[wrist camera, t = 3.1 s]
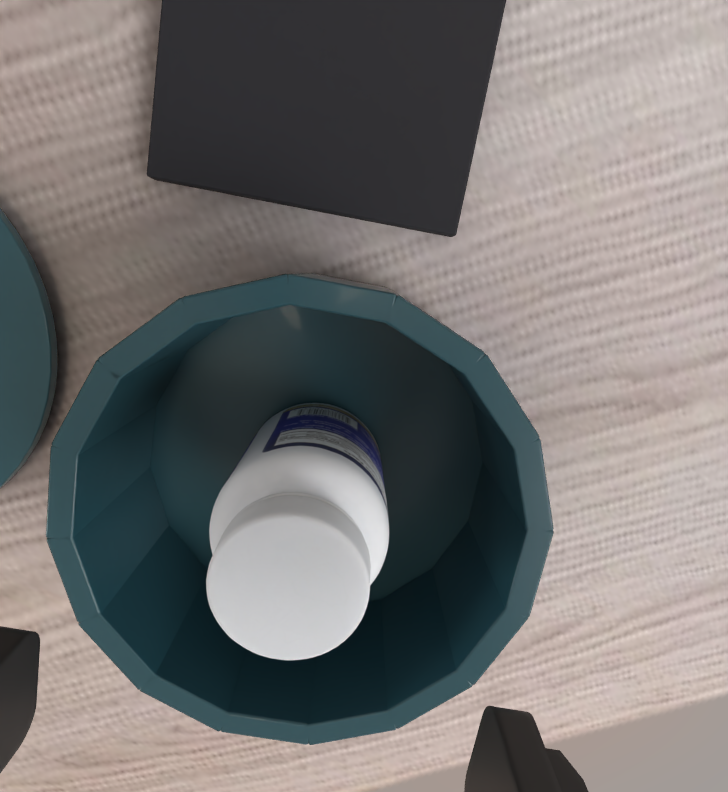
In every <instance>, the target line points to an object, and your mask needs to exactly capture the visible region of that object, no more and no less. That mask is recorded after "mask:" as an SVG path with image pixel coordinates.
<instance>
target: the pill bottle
mask: <svg viewBox="0 0 728 792" xmlns="http://www.w3.org/2000/svg"><path fill="white" fill-rule="evenodd" d="M209 536H210V546H211V550H212V555H213V556H212V558H211V561H210V563H209V567H208V571H207V578H206V591H207V598H208V602H209V606H210V609H211V611H212V613H213V615H214V617H215V619H216V621H217V622H218V624H219V625H220V626H221V628H222V629H223V630H224V632H225V633H226V634H227V635H228V636H229V637H230V638H231V639H232V640H234V641H235V642H236V643H238V644H239V645H241V646H242V647H244V648H246V649H247V650H249V651H251V652H253V653H256V654H258V655H261V656H264V657H268V658H272V659H279V660H301V659H308V658H312V657H316V656H319V655H322V654H324V653H326V652H329V651H330V650H332V649H334V648H336V647H337V646H339V645H340V644H341V643H343V642H344V641H345V640H346V639H347V638H348V637H349V636H350V635H351V634H352V633H353V632H354V631H355V629H356V628H357V626H358V625H359V623H360V622H361V620H362V618H363V616H364V614H365V611H366V608H367V605H368V601H369V594H370V585H371V584H372V583H373V581H374V580H375V578H376V577H377V575H378V574H379V572H380V570H381V568H382V565H383V563H384V560H385V557H386V553H387V550H388V543H389V517H388V508H387V500H386V494H385V486H384V479H383V470H382V462H381V456H380V452H379V448H378V445H377V443H376V441H375V439H374V437H373V435H372V434H371V432H370V431H369V429H368V428H367V427H366V426H365V425H364V423H363V422H362V421H360V420H359V419H358V418H357V417H356V416H354V415H353V414H351V413H350V412H348V411H346V410H344V409H342V408H339V407H337V406H333V405H330V404H324V403H304V404H299V405H295V406H292V407H289V408H287V409H285V410H283V411H281V412H279V413H277V414H276V415H274V416H273V417H271V418H270V419H269V420H268V421H267V422H266V423H265V424H264V425H263V426H262V427H261V428H260V430H259V431H258V432H257V434H256V435H255V436H254V438H253V440H252V441H251V442H250V444H249V446H248V448H247V449H246V451H245V453H244V454H243V456H242V457H241V459H240V460H239V462H238V464H237V465H236V467H235V468H234V470H233V471H232V473H231V474H230V476H229V477H228V479H227V481H226V482H225V484H224V485H223V487H222V489H221V491H220V493H219V495H218V497H217V499H216V502H215V504H214V507H213V510H212V514H211V519H210V528H209Z"/></svg>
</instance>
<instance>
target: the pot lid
mask: <svg viewBox="0 0 728 792" xmlns="http://www.w3.org/2000/svg"><path fill="white" fill-rule="evenodd" d="M56 379H57V340H56V333H55V326H54V319H53V314H52V311H51V307H50V303H49V300H48V296H47V292H46V289H45V286H44V284H43V282H42V279H41V277H40V274H39V272H38V269H37V267H36V264H35V262H34V260H33V258H32V256H31V255H30V253H29V251H28V249H27V247H26V246H25V244H24V242H23V240H22V238H21V237H20V235H19V233H18V232H17V231H16V229H15V228H14V226H13V225H12V223H11V222H10V221H9V219H8V218H7V216H6V215H5V214H4V212H3V211H2V209H1V208H0V488H1V487H2V486H4V485H5V484H6V483H7V482H8V481H10V479H11V478H12V477H13V476H14V475H15V474H16V473H17V471H18V470H19V469H20V468H21V467H22V466H23V465H24V463H25V462H26V461H27V459H28V457H29V456H30V454H31V453H32V451H33V450H34V448H35V446H36V445H37V443H38V441H39V439H40V437H41V434H42V432H43V430H44V428H45V425H46V423H47V421H48V417H49V414H50V410H51V406H52V403H53V399H54V394H55V387H56Z"/></svg>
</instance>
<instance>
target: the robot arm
mask: <svg viewBox="0 0 728 792" xmlns="http://www.w3.org/2000/svg"><path fill="white" fill-rule="evenodd" d="M39 651H40V638H39V635H38V633H36V632H32V631H26V630H20V629H13V628H7V627H1V626H0V773H1V771H2V770H3V769H4V767H5V766H6V765H7V763H8V762H9V761H10V759H11V758H12V756H13V755H14V754H15V752H16V751H17V750H18V748H19V747H20V745H21V743H22V742H23V740H24V738H25V736H26V734H27V732H28V730H29V728H30V725H31V723H32V720H33V717H34V713H35V709H36V700H37V684H38V668H39ZM465 792H588V790H587V787H586V785H585V783H584V780H583V779H582V778H581V776H580V775H579V774H578V773H577V771H576V770H575V769H574V768H573V766H572V765H571V764H570V763H569V762H568V760H567V759H566V758H565V757H564V755H563V754H562V753H561V751H559V750H553V749H547V748H545V746H544V744H543V741H542V738H541V736H540V733H539V730H538V728H537V725H536V723H535V720H534V718H533V716H532V715H531V714H530V713H529V712H524V711H518V710H512V709H505V708H499V707H493V706H488V707H486V709H485V710H484V712H483V716H482V719H481V723H480V726H479V730H478V734H477V737H476V741H475V744H474V748H473V752H472V755H471V759H470V762H469V766H468V770H467V774H466V780H465Z"/></svg>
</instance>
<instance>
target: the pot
mask: <svg viewBox="0 0 728 792" xmlns="http://www.w3.org/2000/svg"><path fill="white" fill-rule="evenodd" d="M304 403H324V404H330V405H333V406H337V407H339V408H342V409H344V410H346V411H348V412H350V413H351V414H353V415H354V416H356V417H357V418H358V419H359V420H360V421H362V422H363V423H364V425H365V426H366V427H367V428H368V429H369V431H370V432H371V434H372V435H373V437H374V439H375V441H376V443H377V445H378V448H379V452H380V456H381V462H382V470H383V479H384V486H385V494H386V500H387V508H388V517H389V543H388V550H387V553H386V557H385V560H384V563H383V565H382V568H381V570H380V572H379V574H378V575H377V577H376V578H375V580H374V581H373V583H372V584H371V585H370V594H369V601H368V605H367V608H366V611H365V614H364V616H363V618H362V620H361V622H360V623H359V625H358V626H357V628H356V629H355V631H354V632H353V633H352V634H351V635H350V636H349V637H348V638H347V639H346V640H345V641H344V642H343V643H341V644H340V645H339V646H337V647H336V648H334V649H332V650H330V651H329V652H326V653H324V654H322V655H319V656H316V657H312V658H308V659H301V660H279V659H272V658H268V657H264V656H261V655H258V654H256V653H253V652H251V651H249V650H247V649H246V648H244V647H242V646H241V645H239V644H238V643H236V642H235V641H234V640H232V639H231V638H230V637H229V636H228V635H227V634H226V633H225V632H224V630H223V629H222V628H221V626H220V625H219V624H218V622H217V621H216V619H215V617H214V615H213V613H212V611H211V609H210V606H209V602H208V598H207V591H206V578H207V571H208V567H209V563H210V561H211V558H212V556H213V555H212V550H211V546H210V536H209V528H210V519H211V514H212V510H213V507H214V504H215V502H216V499H217V497H218V495H219V493H220V491H221V489H222V487H223V485H224V484H225V482H226V481H227V479H228V477H229V476H230V474H231V473H232V471H233V470H234V468H235V467H236V465H237V464H238V462H239V460H240V459H241V457H242V456H243V454H244V453H245V451H246V449H247V448H248V446H249V444H250V442H251V441H252V440H253V438H254V436H255V435H256V434H257V432H258V431H259V430H260V428H261V427H262V426H263V425H264V424H265V423H266V422H267V421H268V420H269V419H270V418H271V417H273V416H274V415H276V414H277V413H279V412H281V411H283V410H285V409H287V408H289V407H292V406H295V405H299V404H304ZM553 533H554V532H553V522H552V515H551V508H550V501H549V495H548V488H547V481H546V474H545V467H544V460H543V454H542V447H541V440H540V439H539V435H538V433H537V432H536V430H535V429H534V427H533V426H532V424H531V422H530V421H529V419H528V418H527V416H526V415H525V413H524V412H523V410H522V408H521V407H520V405H519V404H518V402H517V401H516V399H515V398H514V396H513V394H512V393H511V391H510V390H509V388H508V387H507V385H506V384H505V382H504V380H503V379H502V377H501V376H500V374H499V373H498V371H497V370H496V368H495V366H494V365H493V363H492V362H491V360H490V359H489V357H488V356H487V355H486V354H485V353H484V352H483V351H482V350H481V349H479V348H478V347H476V346H475V345H473V344H472V343H470V342H469V341H467V340H466V339H464V338H463V337H461V336H460V335H458V334H457V333H455V332H454V331H452V330H451V329H449V328H448V327H446V326H445V325H443V324H442V323H440V322H439V321H437V320H436V319H434V318H432V317H431V316H429V315H428V314H426V313H425V312H423V311H422V310H420V309H419V308H417V307H416V306H414V305H413V304H411V303H410V302H408V301H407V300H405V299H404V298H402V297H401V296H399V295H398V294H396V293H395V292H393V291H392V290H390V289H388V288H386V287H383V286H377V285H372V284H367V283H361V282H356V281H351V280H345V279H340V278H335V277H329V276H324V275H319V274H314V273H300V274H283V275H279V276H274V277H269V278H265V279H260V280H256V281H251V282H247V283H242V284H238V285H233V286H229V287H224V288H220V289H215V290H211V291H206V292H201V293H197V294H192V295H188V296H184V297H183V298H179V299H178V300H176V301H175V302H174V303H172V304H171V305H170V306H168V307H167V308H166V309H164V310H163V311H161V312H160V313H159V314H157V315H156V316H155V317H153V318H152V319H151V320H149V321H148V322H147V323H145V324H144V325H143V326H141V327H140V328H138V329H137V330H136V331H134V332H133V333H132V334H130V335H129V336H128V337H126V338H125V339H124V340H122V341H121V342H119V343H118V344H117V345H115V346H114V347H113V348H111V349H110V350H109V351H107V352H106V353H105V354H103V355H102V356H101V357H99V359H98V360H97V361H96V362H95V364H94V366H93V368H92V370H91V372H90V374H89V375H88V377H87V379H86V381H85V383H84V385H83V386H82V388H81V390H80V392H79V394H78V396H77V397H76V399H75V401H74V403H73V405H72V407H71V409H70V410H69V412H68V414H67V416H66V418H65V420H64V421H63V423H62V425H61V427H60V429H59V431H58V432H57V434H56V436H55V438H54V440H53V442H52V446H51V454H50V471H49V489H48V507H47V524H46V537H47V542H48V545H49V548H50V550H51V553H52V556H53V558H54V561H55V564H56V566H57V569H58V571H59V574H60V577H61V579H62V582H63V585H64V587H65V590H66V593H67V595H68V598H69V600H70V603H71V606H72V608H73V611H74V614H75V616H76V619H77V621H78V622H79V626H80V627H81V628H82V629H83V630H84V631H85V632H86V633H87V634H88V635H89V636H90V638H91V639H92V640H93V641H94V642H95V643H96V644H97V645H98V646H99V647H100V648H101V650H102V651H103V652H104V653H105V654H106V655H107V656H108V657H109V658H110V659H111V660H112V661H113V663H114V664H115V665H116V666H117V667H118V668H119V669H120V670H121V671H122V672H123V673H124V674H125V676H126V677H127V678H128V679H129V680H130V681H131V682H132V683H133V684H134V685H135V686H136V688H137V689H140V691H141V692H143V693H145V694H147V695H149V696H151V697H153V698H155V699H157V700H159V701H161V702H163V703H165V704H167V705H168V706H170V707H172V708H174V709H176V710H178V711H180V712H182V713H184V714H186V715H188V716H190V717H192V718H194V719H195V720H197V721H199V722H201V723H203V724H205V725H207V726H209V727H211V728H213V729H215V730H217V731H220V730H221V731H222V732H226V733H233V734H240V735H246V736H253V737H260V738H266V739H273V740H280V741H286V742H293V743H300V744H308V743H309V745H314V744H319V743H325V742H330V741H336V740H342V739H347V738H353V737H358V736H364V735H369V734H375V733H381V732H386V731H392V730H396V728H397V729H398V728H400V727H402V726H404V725H405V724H407V723H409V722H411V721H412V720H414V719H416V718H418V717H419V716H421V715H423V714H425V713H426V712H428V711H430V710H432V709H433V708H435V707H437V706H439V705H440V704H442V703H444V702H446V701H447V700H449V699H451V698H453V697H454V696H456V695H458V694H460V693H461V692H463V691H465V690H467V689H468V688H470V687H472V686H473V685H474V684H475V683H476V682H477V681H478V679H479V678H480V677H481V676H482V675H483V673H484V672H485V671H486V670H487V668H488V667H489V666H490V665H491V663H492V662H493V661H494V660H495V658H496V657H497V656H498V655H499V654H500V652H501V651H502V650H503V649H504V647H505V646H506V645H507V644H508V642H509V641H510V640H511V639H512V638H513V636H514V635H515V634H516V633H517V631H518V630H519V629H520V628H521V626H522V625H523V624H524V623H525V622H526V620H527V619H528V617H529V616H530V613H531V609H532V606H533V602H534V599H535V595H536V592H537V589H538V585H539V582H540V578H541V575H542V571H543V568H544V564H545V561H546V557H547V554H548V550H549V547H550V543H551V540H552V536H553Z"/></svg>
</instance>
